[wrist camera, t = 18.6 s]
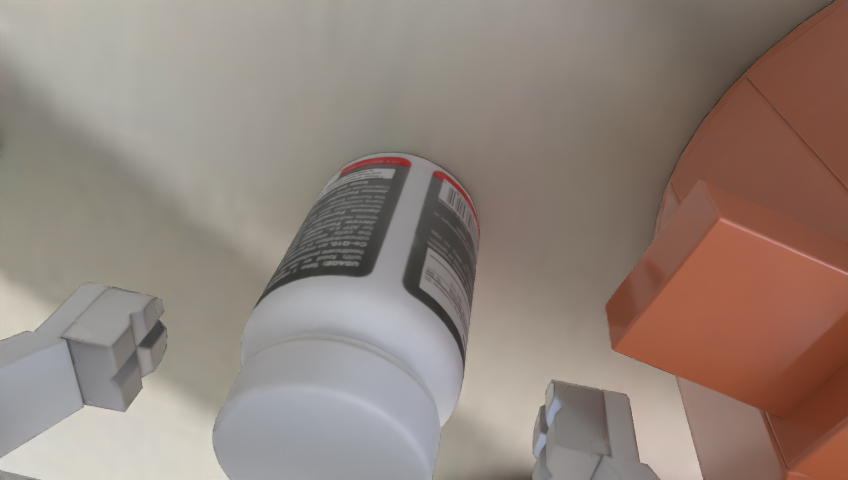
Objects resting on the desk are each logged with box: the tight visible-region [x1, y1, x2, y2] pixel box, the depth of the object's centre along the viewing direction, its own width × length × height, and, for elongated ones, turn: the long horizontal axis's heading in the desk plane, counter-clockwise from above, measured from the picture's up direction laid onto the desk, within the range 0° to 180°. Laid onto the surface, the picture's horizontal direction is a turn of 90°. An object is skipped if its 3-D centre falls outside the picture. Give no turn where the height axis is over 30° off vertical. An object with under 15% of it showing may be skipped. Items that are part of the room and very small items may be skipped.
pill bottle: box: [212, 153, 480, 480], centre depth 14 cm, size 5×5×8 cm
